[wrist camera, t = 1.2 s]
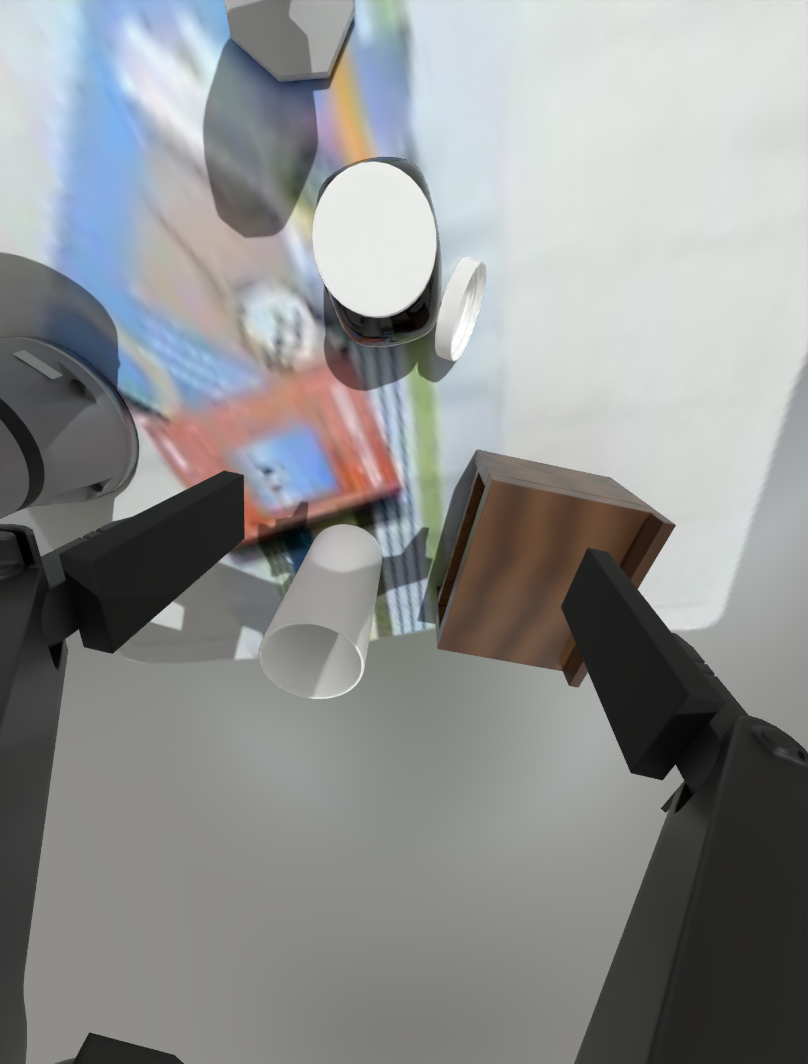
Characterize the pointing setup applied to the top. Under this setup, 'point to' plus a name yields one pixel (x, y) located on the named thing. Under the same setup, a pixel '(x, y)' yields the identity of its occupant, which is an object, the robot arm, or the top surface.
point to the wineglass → (291, 34)
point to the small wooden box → (535, 558)
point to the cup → (325, 616)
